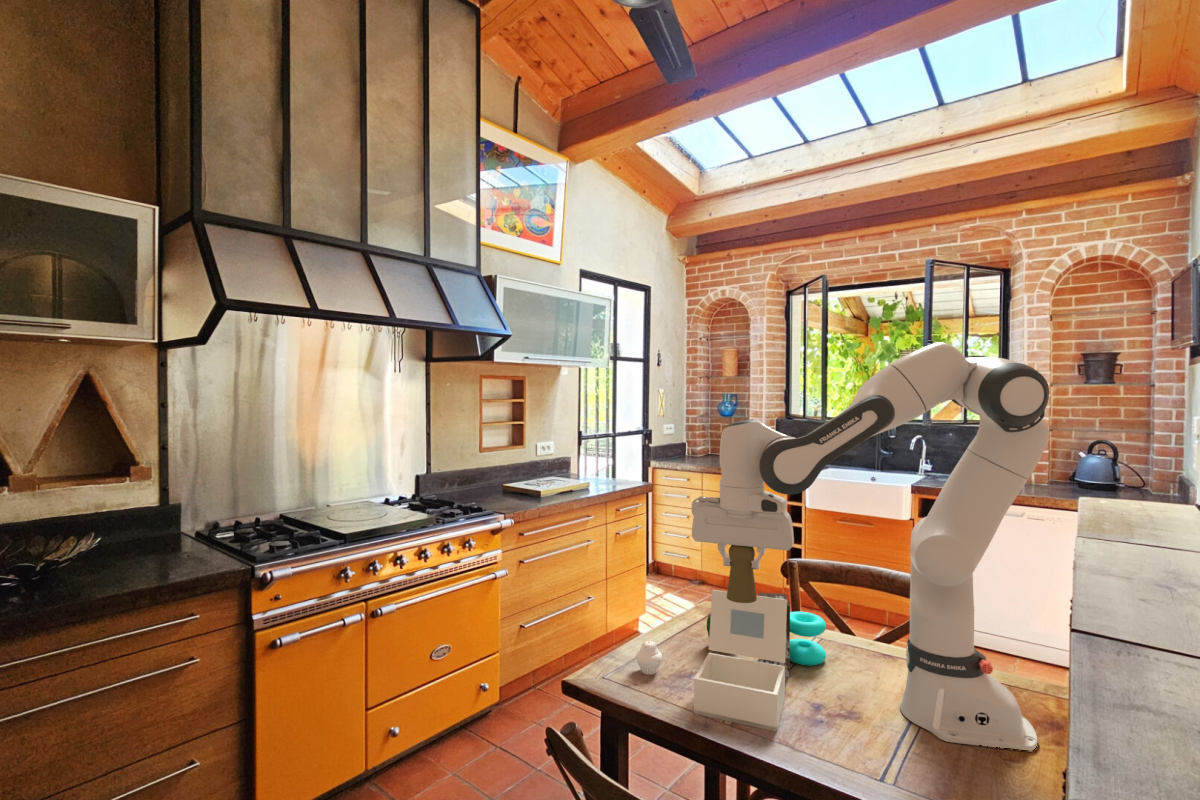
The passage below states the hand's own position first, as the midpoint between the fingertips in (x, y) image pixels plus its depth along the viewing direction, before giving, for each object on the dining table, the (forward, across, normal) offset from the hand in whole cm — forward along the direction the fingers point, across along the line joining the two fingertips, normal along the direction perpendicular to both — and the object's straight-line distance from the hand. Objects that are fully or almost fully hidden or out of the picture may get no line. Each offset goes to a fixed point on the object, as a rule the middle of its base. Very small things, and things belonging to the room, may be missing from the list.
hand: (741, 567), depth 121 cm
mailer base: (+28, 0, 0) cm, 29 cm away
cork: (+7, 0, 0) cm, 7 cm away
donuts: (+29, +10, +29) cm, 42 cm away
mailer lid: (+15, 0, +8) cm, 16 cm away
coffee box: (+29, +4, +21) cm, 36 cm away
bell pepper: (+29, -9, +27) cm, 40 cm away
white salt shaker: (+29, -22, +7) cm, 37 cm away
